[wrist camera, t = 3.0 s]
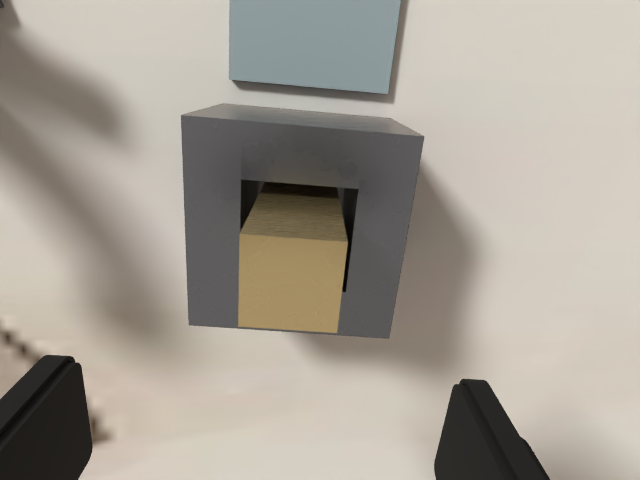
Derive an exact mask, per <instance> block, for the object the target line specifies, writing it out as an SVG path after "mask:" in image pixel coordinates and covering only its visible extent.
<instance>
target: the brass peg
mask: <svg viewBox="0 0 640 480" xmlns="http://www.w3.org/2000/svg"><path fill="white" fill-rule="evenodd" d="M347 245H348V240H347V235H346V230H345V225H344V220H343V215H342V210H341V205H340V200H339V195H338V190H337V187H328V186H315V185H303V184H291V183H279V182H266V181H265V183H264V185H263V187H262V189H261V191H260V193H259V195H258V197H257V199H256V201H255V203H254V205H253V207H252V209H251V211H250V213H249V216H248V218H247V220H246V222H245V224H244V226H243V228H242V230H241V232H240V240H239V306H238V327H253V328H268V329H283V330H298V331H313V332H328V333H337V329H338V321H339V312H340V304H341V295H342V287H343V279H344V270H345V262H346V254H347Z"/></svg>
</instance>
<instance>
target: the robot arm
mask: <svg viewBox="0 0 640 480" xmlns="http://www.w3.org/2000/svg"><path fill="white" fill-rule="evenodd" d="M91 453H92V438H91V431H90V424H89V417H88V410H87V403H86V396H85V389H84V382H83V375H82V368H81V365H80V363H75V359H74V358H73V357H71V356H59V355H46V356H44V357H42V358H41V359H40V360H39V361H38V362H37V363H36V364H35V365H34V366H33V367H32V368H31V369H30V370H29V371H28V372H27V373H26V374H25V375H24V376H23V377H22V378H21V379H20V380H19V381H18V382H17V383H16V384H15V385H14V386H13V387H12V388H11V389H10V390H9V391H8V392H7V393H6V394H5V395H4V396H3V397H2V398H1V399H0V480H78V478H79V477H80V475H81V473H82V472H83V470H84V468H85V467H86V465H87V463H88V461H89V459H90V456H91ZM434 470H435V476H436V480H550V479H549V477H548V475H547V474H546V472H545V470H544V469H543V467H542V465H541V464H540V462H539V460H538V459H537V457H536V455H535V454H534V452H533V451H532V449H531V447H530V446H529V444H528V443H527V442H526V440H524V439H523V438H521V437H520V436H519V434H518V432H517V431H516V429H515V427H514V426H513V424H512V422H511V421H510V419H509V417H508V416H507V414H506V412H505V411H504V409H503V407H502V405H501V404H500V402H499V400H498V399H497V397H496V395H495V394H494V392H493V390H492V389H491V387H490V385H489V384H488V383H487V381H485V380H474V379H462V380H461V381H460V383H459V384H455V385H454V386H453V389H452V393H451V397H450V401H449V405H448V409H447V413H446V417H445V421H444V425H443V430H442V434H441V438H440V442H439V446H438V450H437V454H436V458H435V463H434Z"/></svg>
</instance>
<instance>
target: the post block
mask: <svg viewBox="0 0 640 480" xmlns="http://www.w3.org/2000/svg"><path fill="white" fill-rule="evenodd" d="M181 127H182V155H183V182H184V209H185V237H186V264H187V292H188V319H189V325H193V326H208V327H223V328H238V329H253V330H269V331H284V332H299V333H314V334H329V335H344V336H359V337H374V338H389V335H390V330H391V324H392V318H393V313H394V307H395V301H396V295H397V290H398V284H399V278H400V272H401V267H402V261H403V255H404V250H405V244H406V238H407V232H408V227H409V221H410V215H411V210H412V204H413V198H414V192H415V187H416V181H417V175H418V170H419V164H420V158H421V152H422V147H423V141H424V136H423V135H421V134H419V133H417V132H415V131H413V130H412V129H410V128H408V127H406V126H404V125H402V124H400V123H398V122H397V121H395V120H393V119H391V118H381V117H370V116H358V115H347V114H336V113H325V112H313V111H302V110H291V109H280V108H268V107H257V106H246V105H235V104H219V105H216V106H212V107H209V108H205V109H201V110H198V111H194V112H190V113H187V114H183V115H181ZM265 181H266V182H279V183H291V184H303V185H315V186H328V187H337V190H338V195H339V200H340V205H341V210H342V215H343V220H344V225H345V230H346V235H347V240H348V245H347V254H346V262H345V270H344V279H343V287H342V295H341V304H340V312H339V321H338V329H337V333H328V332H313V331H298V330H283V329H268V328H253V327H238V306H239V240H240V232H241V230H242V228H243V226H244V224H245V222H246V220H247V218H248V216H249V213H250V211H251V209H252V207H253V205H254V203H255V201H256V199H257V197H258V195H259V193H260V191H261V189H262V187H263V185H264V183H265Z"/></svg>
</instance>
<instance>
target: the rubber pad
mask: <svg viewBox="0 0 640 480" xmlns="http://www.w3.org/2000/svg"><path fill="white" fill-rule="evenodd" d="M400 3H401V0H230V18H229V80H240V81H251V82H262V83H273V84H284V85H295V86H306V87H317V88H328V89H339V90H349V91H360V92H371V93H382V94H388V90H389V83H390V76H391V68H392V61H393V54H394V47H395V39H396V32H397V25H398V18H399V10H400Z"/></svg>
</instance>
